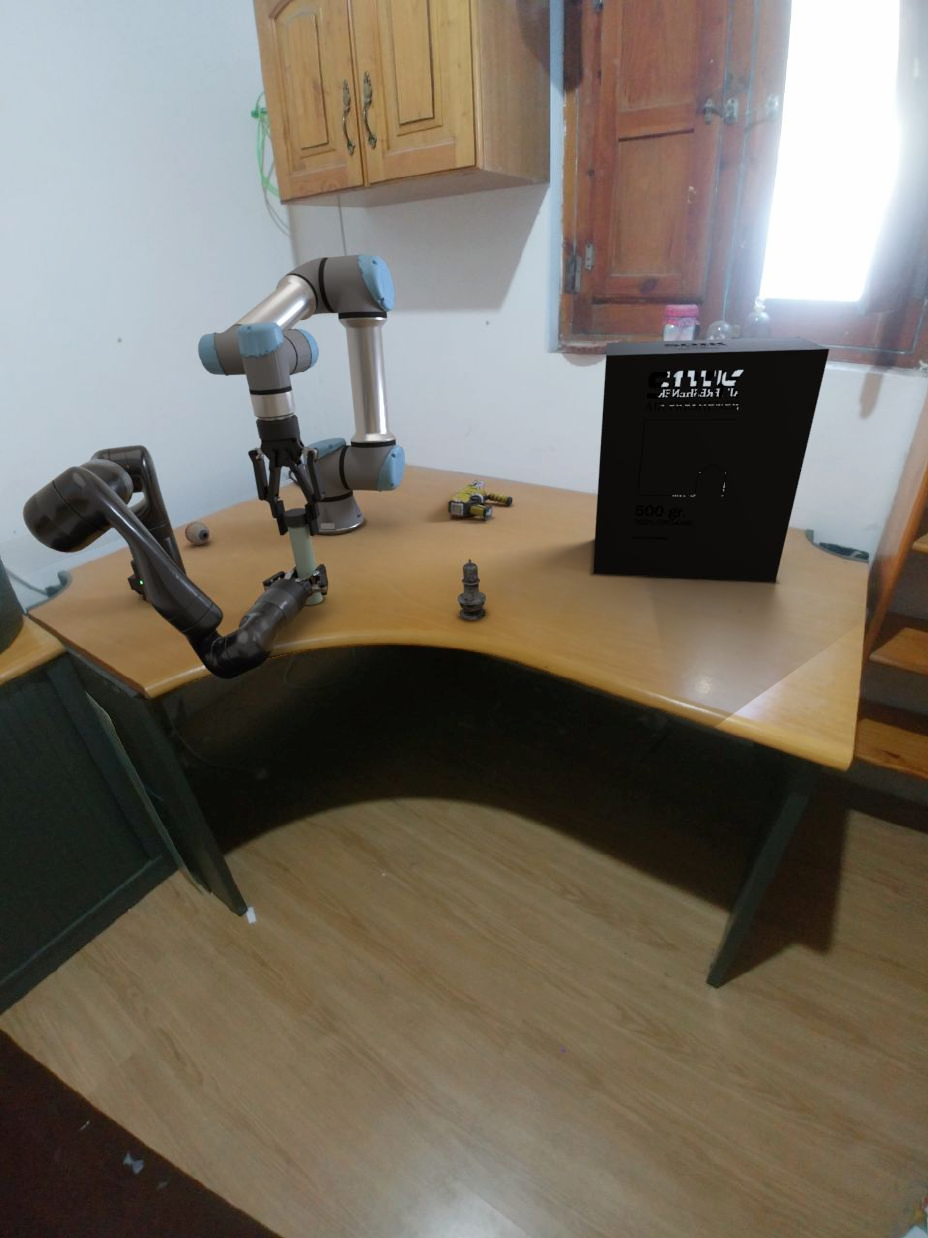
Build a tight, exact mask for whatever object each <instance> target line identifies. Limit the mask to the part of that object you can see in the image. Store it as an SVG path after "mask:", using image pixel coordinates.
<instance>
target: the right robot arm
mask: <svg viewBox="0 0 928 1238" xmlns="http://www.w3.org/2000/svg"><path fill="white" fill-rule="evenodd" d="M395 295H396V294H395V289H394V283H393V279H392V275H391V272H390V270H389V268H388V265H387V263H386V262H385V261H384V260H383V259H382V257H380V256H379V255H377V254H353V255H352V254H351V255H339V256H330V257H328V256H327V257H325V256H324V257H317V258H314V259H311V260H309V261H306V262H304V263H302V264H301V265H299V266H297V267H295V268H294V269H292V270H290V271H289V272H288V273H286V274H285V275H284V276H282V277H281V278H280V279H279V280H278V282H277V284H276V287H275V290H274V291H273V292H271V293H270V294H269V295H268V296H267V297H265V298H264V299H263V300H262V301H260V302H259V303H258V304H256V306H254V307H253V308H252V309H250V310H249V311H248V312H246V313H245V315H243V316H242V317H241V318H239V319H238V320H237V321H235V323H233V324H232V325H231V326H229V327H228V328H227V329H226V330H225V331H222V332H212V333H206V334H205V333H204V334H203V335H201V337H200V339H199V341H198V346H197V352H198V358H199V359H200V362H201V365H202V367H203V368H204V369H205V371H206V372H208V373H210V374H211V375H215V376H216V375H218V376H219V375H220V376H225V377H227V376H228V377H230V376H242V375H243V376H246V377H245V378H246V381H247V385H248V391H249V397H250V402H251V406H252V411H253V415H254V417H255V418H257V419H256V420H255V425H256V428H257V429H256V430H257V434H258V437H259V439H260V446H259V447H254V448H251V449H250V450H249V451H248V452H247V455H248V457H249V459H250V461H251V463H252V468H253V474H254V479H255V487H256V492H257V498H258V500H259V501H262V502H267V503H268V504H269V508H270V513H271V517H272V519H276V524H277V528H278V533H279V536H284V535H286V534H287V533H289V531H288V527H287V526H286V525H285V523H284V518H283V513H284V512H285V511H286V509H285V504H284V499H281V496H280V487H281V475H282V468H283V467H284V468H288V469H289V470H288V477H289V479H290V480H291V481H292V482H294V483H295V484H296V485H298V486H299V488H300V490H301V491H302V494H303V496H304V498H305V500H306V503H305V504H304V508H305V511H306V516H307V521H308V527H309V532H310V536H311V537H315V536H316V535H323V536H324V535H325V536H327V535H329V536H331V535H339V534H340V535H341V534H345V533H350V532H353V531H355V530H357V529H359V528H361V527H362V526H363V525H364V523H365V519H364V514H363V512H362V510H361V508H360V505H359V504H358V501H357V500H356V498H355V495H354V491H369V492H371V491H372V492H379V493H381V492H389V491H390V492H391V491H392V492H393V491H395V490H396V489H398V487H400V485H401V482H402V481H403V478H404V472H405V466H406V454H405V450H404V448H403V446H401V445H400V444H397V437H396V436H395V435H394V434H393V433H392V432H391V431H390V423H389V411H388V410H389V409H388V397H387V396H388V395H387V383H386V368H385V355H384V343H383V342H384V341H383V327H384V325H385V324H386V323H387V321H388V313H389V312H390V311H393V309H394V306H395V300H396V297H395ZM321 314H322V315H323V314H337V318H338V320H337V321H338V322H339V323H340V325H341V326H343V327H344V330H345V335H346V345H347V357H348V367H349V377H350V378H349V379H350V388H351V397H352V398H351V399H352V409H353V421H354V428H355V429H354V430H355V431H354V434H353V435H352V436H351V438H350V441H349V442H350V444H347V441H346V439H345V438H343V437H331V438H327V439H326V438H325V439H322V440H318V441H315V442H313V443H309V444H308V445H306V446H305V444H304V442H303V441H302V438H301V429H300V423H299V418H298V416H297V414H295V413H296V411H297V408H296V402H295V398H294V392H293V388H292V381H291V376H292V375H296V374H300V373H305V372H306V371H308V370H310V369H311V368H313V367H315V365H316V363H317V362H318V360H319V355H320V352H319V351H320V350H319V344H318V342H317V340H316V338H315V337H314V336H313V335H312V333H310V331H308V330H305V329H303V328H294V326H296V325H297V324H298V323H299V322H300V321H306V320H309V319H310V318H311V317H312V316H314V315H321ZM264 457H266V458H267V460H268V471H269V474H268V475H269V476H268V475H267V467H266V462H265V458H264ZM301 457H303V458H301ZM292 474H293V476H294V477H295V478H294V477H293V476H292Z"/></svg>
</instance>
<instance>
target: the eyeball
mask: <svg viewBox="0 0 928 1238" xmlns="http://www.w3.org/2000/svg"><path fill="white" fill-rule="evenodd" d="M210 534H211V532H210V529H209V527H208V526H207V525H206V524H205V523H203V522H200V521H194V522H191V523H189V524H188V525H187V526H186V527H185V530H184V535H185V539H186V540H187V541H188V542H190V544H193V545H195V546H197V545H198V546H200V545H203V544H206V543H207V542H208V541H209V539H210V536H211V535H210Z"/></svg>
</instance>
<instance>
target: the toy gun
mask: <svg viewBox="0 0 928 1238" xmlns="http://www.w3.org/2000/svg"><path fill="white" fill-rule="evenodd" d="M485 485H486V483H485V480H480V481H479V479H475V480H474V481H472V483H470V484H467V486H465V487H464V488H463V489H462V490H461V491H459V492H458V493H456V494H455V495H454V496H453V497H452V498H451V499H450V500H448V502H447V513H448V514H449V515H451V516H452V517H456V518H458V517H467V516H472V515H473V516H479V517H482V520H484V521H486V520H487V519H489V518H491V517H492V516H493V515H492V514H493V505H492V504H488V505H486V503H485V502H486V501H488V500H489V501H490V502H494V503H496V502H497V503H499V504H504V505H507V506H508V507H509V506H512V505H513V502H514V501H513V500H514V498H513V497H512V496H508V495H507V496H506V495H502V494H498V493H494V492H490V493H489V494H487V492H486V490H485V488H483V487H484V486H485Z"/></svg>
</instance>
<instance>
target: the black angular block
mask: <svg viewBox="0 0 928 1238" xmlns="http://www.w3.org/2000/svg"><path fill="white" fill-rule="evenodd" d="M605 351H606V352H605V367H604V369H605V370H604V383H603V384H604V385H603V399H602V400H603V401H602V415H601V431H600V433H601V434H600V448H599V465H598V481H597V497H596V511H595V512H596V514H595V529H594V531H595V532H594V547H593V548H594V550H593V566H592V575H608V576H628V577H629V576H631V577H654V578H655V577H656V578H675V579H676V578H677V579H678V578H679V579H701V580H702V579H703V580H724V581H725V580H726V581H747V582H770V583H776V582H777V577H778V573H779V568H780V565H781V560H782V556H783V552H784V547H785V543H786V538H787V534H788V531H789V530H788V529H789V525H790V521H791V518H792V517H791V516H792V514H793V513H792V512H793V508H794V504H795V500H796V496H797V491H798V488H799V482H800V477H801V474H802V470H803V465H804V460H805V456H806V453H807V448H808V444H809V440H810V435H811V431H812V427H813V422H814V418H815V414H816V409H817V405H818V400H819V397H820V391H821V387H822V383H823V380H824V379H823V378H824V375H825V370H826V366H827V363H828V362H827V361H828V358H829V353H830V348H828V347H826V346H824V345H820V344H819V343H815V342H813V341H811V340H808V339H805V338H803V337H800V336H780V337H778V336H775V337H749V338H748V337H747V338H745V337H744V338H721V339H720V338H717V339H716V338H715V339H689V340H688V339H687V340H684V339H683V340H657V341H655V340H654V341H628V342H627V341H626V342H624V341H623V342H607V343H606V349H605ZM720 371H721V372H720ZM737 371H742V372H740V374H739V375H734V374H735V373H736V372H737ZM678 372H682V376H681V377H680V382H679V385H677V386H676V382H677V377H676V374H677V373H678ZM689 372H694V373H693V382H695V385H691V384H692V376H689ZM702 372H705V375H704V376H702V374H703V373H702ZM719 375H720V379H719ZM724 375H725V377H724ZM723 378H724V382H734V383H733V385H725V384H723ZM705 382H710V385H704V384H705ZM664 383H665V384H666V383H667V386H663V385H664Z"/></svg>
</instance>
